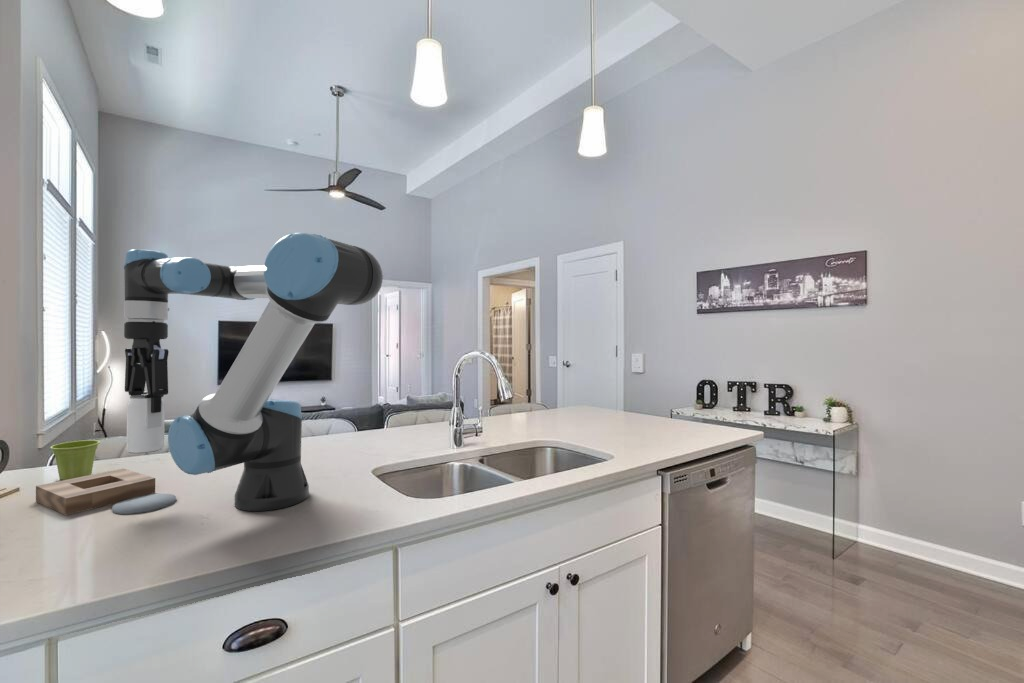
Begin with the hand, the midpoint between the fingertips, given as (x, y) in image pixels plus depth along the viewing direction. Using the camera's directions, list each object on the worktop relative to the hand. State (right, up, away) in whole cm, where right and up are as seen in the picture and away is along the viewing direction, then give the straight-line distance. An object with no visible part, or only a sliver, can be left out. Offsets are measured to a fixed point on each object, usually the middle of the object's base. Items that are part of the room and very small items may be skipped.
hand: (145, 425), depth 101 cm
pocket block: (-15, -17, +4) cm, 23 cm away
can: (0, -6, 0) cm, 6 cm away
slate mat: (0, -18, 0) cm, 18 cm away
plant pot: (-34, -17, +19) cm, 43 cm away
